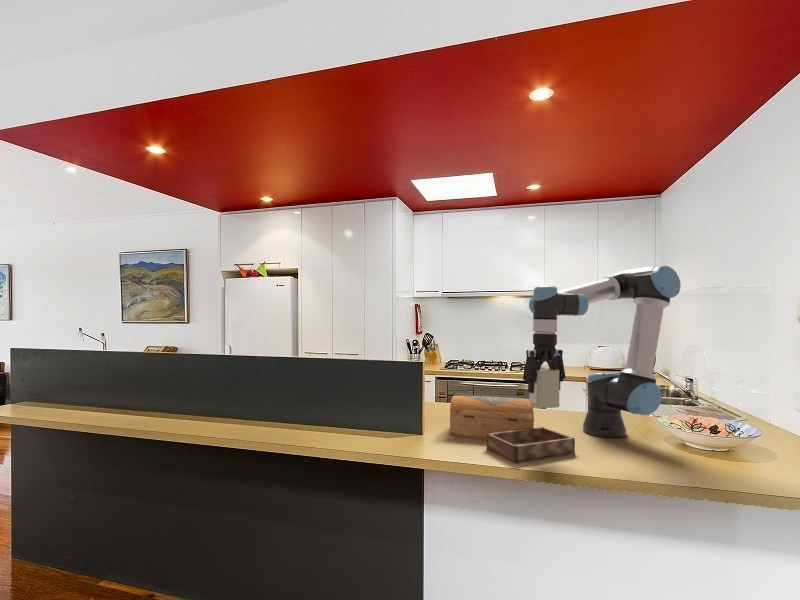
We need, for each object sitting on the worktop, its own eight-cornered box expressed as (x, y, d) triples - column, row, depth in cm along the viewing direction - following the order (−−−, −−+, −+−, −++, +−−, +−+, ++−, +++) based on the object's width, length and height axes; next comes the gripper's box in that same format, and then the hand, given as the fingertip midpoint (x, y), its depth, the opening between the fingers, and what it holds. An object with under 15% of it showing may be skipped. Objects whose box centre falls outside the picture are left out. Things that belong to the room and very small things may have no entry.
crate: (542, 440, 153) (542, 426, 153) (574, 453, 140) (574, 438, 140) (486, 448, 144) (486, 433, 144) (515, 463, 130) (515, 446, 130)
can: (552, 401, 145) (552, 366, 145) (564, 407, 136) (564, 370, 136) (525, 401, 144) (526, 366, 145) (536, 407, 135) (536, 369, 135)
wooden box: (531, 431, 167) (531, 395, 167) (534, 443, 151) (534, 404, 151) (454, 425, 174) (454, 391, 175) (449, 436, 158) (449, 399, 158)
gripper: (560, 332, 149) (560, 397, 148) (511, 332, 140) (510, 401, 139) (577, 333, 142) (577, 401, 141) (527, 333, 133) (526, 406, 132)
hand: (544, 401), depth 140 cm, fingers closed on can, 9 cm apart
